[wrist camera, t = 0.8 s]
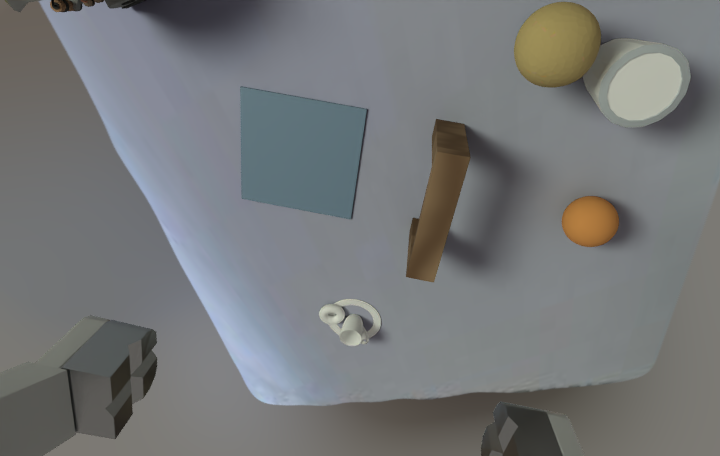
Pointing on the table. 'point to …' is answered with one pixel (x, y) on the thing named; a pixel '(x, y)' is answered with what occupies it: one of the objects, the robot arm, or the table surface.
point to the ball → (590, 221)
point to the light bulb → (557, 44)
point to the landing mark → (300, 151)
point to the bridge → (438, 200)
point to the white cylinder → (637, 81)
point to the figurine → (73, 4)
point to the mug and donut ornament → (350, 321)
